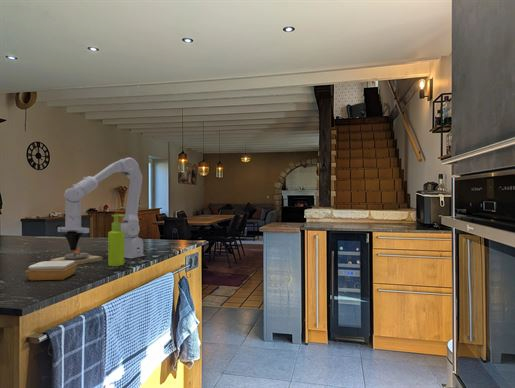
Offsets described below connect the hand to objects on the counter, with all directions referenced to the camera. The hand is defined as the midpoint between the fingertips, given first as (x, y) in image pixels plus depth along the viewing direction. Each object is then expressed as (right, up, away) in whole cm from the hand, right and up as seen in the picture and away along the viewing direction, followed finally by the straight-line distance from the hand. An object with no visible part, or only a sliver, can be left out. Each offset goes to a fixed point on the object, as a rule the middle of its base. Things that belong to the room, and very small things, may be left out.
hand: (73, 250), depth 142 cm
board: (0, -5, +3) cm, 6 cm away
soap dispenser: (+20, -5, -4) cm, 21 cm away
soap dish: (+6, -6, -25) cm, 26 cm away
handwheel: (0, -4, +3) cm, 5 cm away
